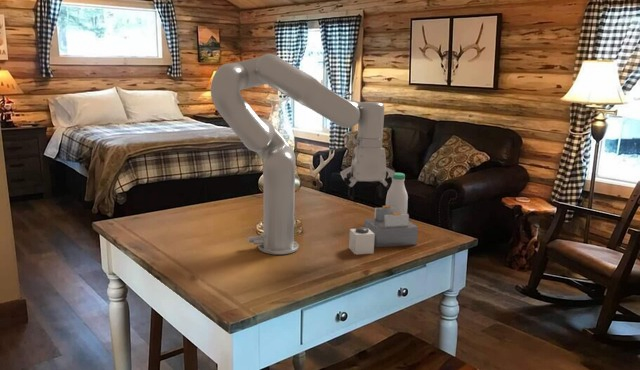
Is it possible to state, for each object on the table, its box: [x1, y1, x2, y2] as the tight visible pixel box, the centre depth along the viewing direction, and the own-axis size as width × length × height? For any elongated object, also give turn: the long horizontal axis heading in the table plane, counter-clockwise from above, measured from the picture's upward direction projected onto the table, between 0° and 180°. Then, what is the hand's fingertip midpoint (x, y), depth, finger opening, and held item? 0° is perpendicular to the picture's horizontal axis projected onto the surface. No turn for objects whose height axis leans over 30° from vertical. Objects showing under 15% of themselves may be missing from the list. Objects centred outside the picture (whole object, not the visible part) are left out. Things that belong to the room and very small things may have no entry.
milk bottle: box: [385, 172, 409, 214], centre depth 194 cm, size 8×8×20 cm
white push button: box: [348, 226, 375, 255], centre depth 172 cm, size 6×6×7 cm
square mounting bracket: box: [363, 205, 419, 248], centre depth 183 cm, size 16×12×11 cm
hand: (366, 198), depth 170 cm, fingers open, 9 cm apart
